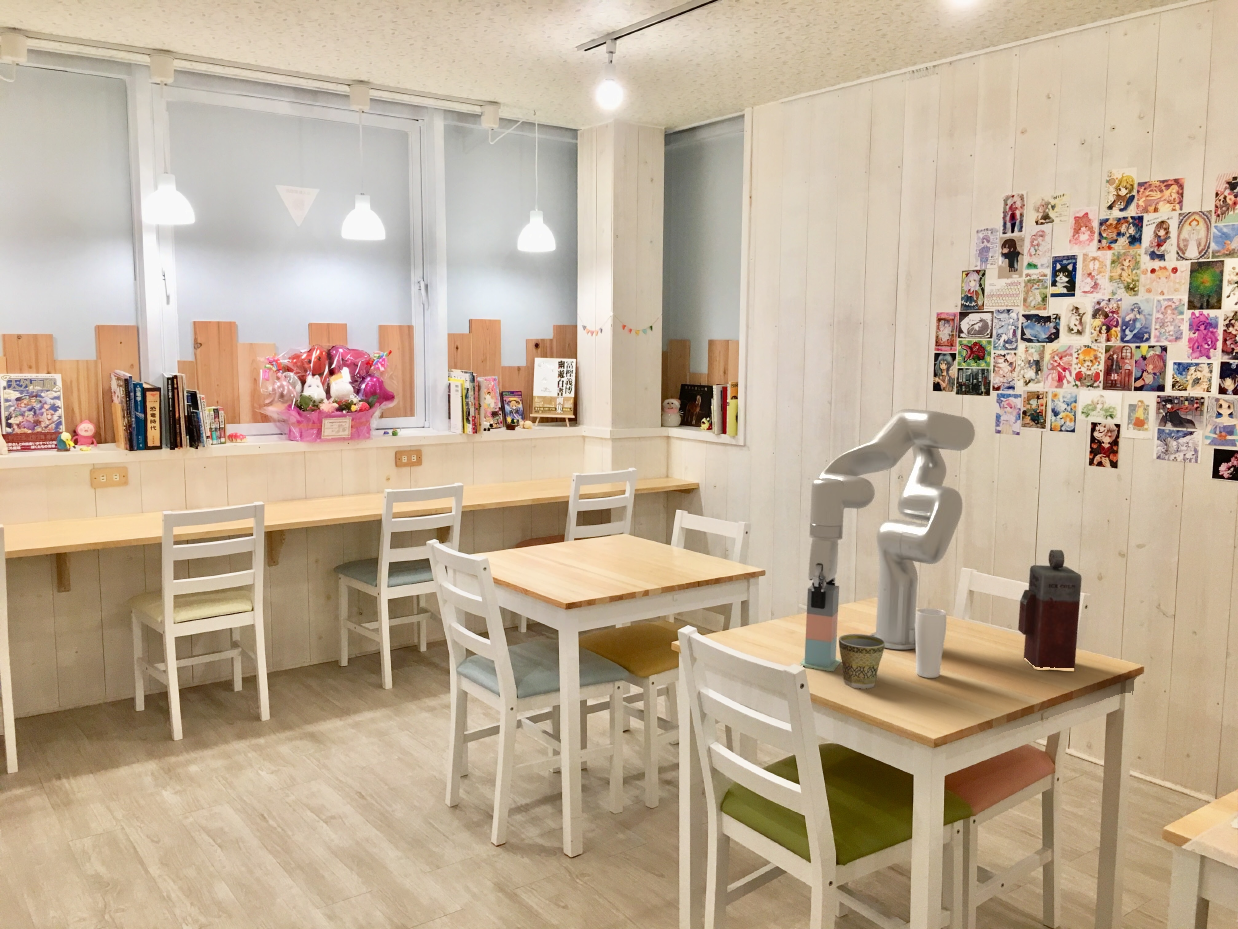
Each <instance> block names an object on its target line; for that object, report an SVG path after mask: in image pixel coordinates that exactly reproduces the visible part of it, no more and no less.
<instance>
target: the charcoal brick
mask: <svg viewBox="0 0 1238 929" xmlns="http://www.w3.org/2000/svg"><path fill="white" fill-rule="evenodd" d="M821 585H822V584H821ZM811 591H812V584H811V585H810V586H809V587H808V588H807V598H806V599H807V600H806V604H807V605H806V615H807V614H813V615H821V616H829V617H833V616H834V615H835V614H836V613H837V611H838V612H839V600H840V599H839V598H840V586H839V585H836V584H835V585H826V586H825V590H824V591H825V592H826V600H825V608H824V609H819V608H812V607H811Z"/></svg>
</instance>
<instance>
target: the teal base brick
mask: <svg viewBox="0 0 1238 929" xmlns="http://www.w3.org/2000/svg"><path fill="white" fill-rule="evenodd" d="M837 637H838V635H837V636H836V637H835V638H834V639H833V641H832V642H827V641H820V640H812V639H806V638H805V641H804V642H805V644H804V658H805V664H812V665H818V666H825V667H831V665H832V664H833V663H834V662H835V660H836V659H837V640H838V638H837Z"/></svg>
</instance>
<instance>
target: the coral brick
mask: <svg viewBox="0 0 1238 929" xmlns="http://www.w3.org/2000/svg"><path fill="white" fill-rule="evenodd" d="M838 616H839V610H838V611H837V613H836V614H835V615H834V616H833V617H829V616H821V615H813V614H807V613H806V618H805V619H806V622H805V640H806V639H812V640H820V641H827V642H832V641H833V639H834V638H835V637H836V636H837V637H838V635H837V634H838Z"/></svg>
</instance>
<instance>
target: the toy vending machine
mask: <svg viewBox="0 0 1238 929" xmlns="http://www.w3.org/2000/svg"><path fill="white" fill-rule="evenodd" d="M1048 564H1049V565H1041V564H1040V565H1036V564H1035V565H1030V569H1029V578H1028V579H1029V580H1028V589H1024V591H1023V593H1022V596H1021V598H1020V600H1019V613H1018V614H1019V615H1018V627H1017V630H1018V631H1019V632H1020V633H1021V634H1022V635H1024V647H1023V648H1024V649H1023V659H1024V658H1026V659H1027V660H1028V661H1029V662H1030V663H1031V664H1032V665H1034V666H1035V667H1040V668H1043V667H1050V668H1054V667H1055V668H1075V667H1076V658H1077V657H1076V656H1077V655H1076V654H1077V642H1078V630H1079V629H1078V628H1079V619H1080V618H1079V617H1080V605H1081V593H1082V592H1081V590H1082V579H1083V577H1082V575H1081V573H1078V572H1076V571H1074V570H1073V569H1072V568H1069V567H1068V566H1066V565H1064V564H1065V554H1064V551H1063V550H1062V549H1050V551H1049V553H1048ZM1075 669H1076V668H1075Z"/></svg>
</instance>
